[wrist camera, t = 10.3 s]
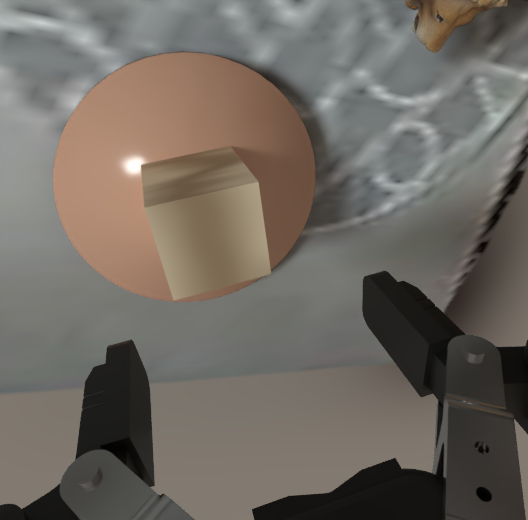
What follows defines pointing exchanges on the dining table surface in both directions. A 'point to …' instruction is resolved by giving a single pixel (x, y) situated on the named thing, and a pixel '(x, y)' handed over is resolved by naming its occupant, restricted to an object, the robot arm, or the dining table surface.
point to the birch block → (205, 221)
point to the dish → (170, 146)
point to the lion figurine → (445, 18)
